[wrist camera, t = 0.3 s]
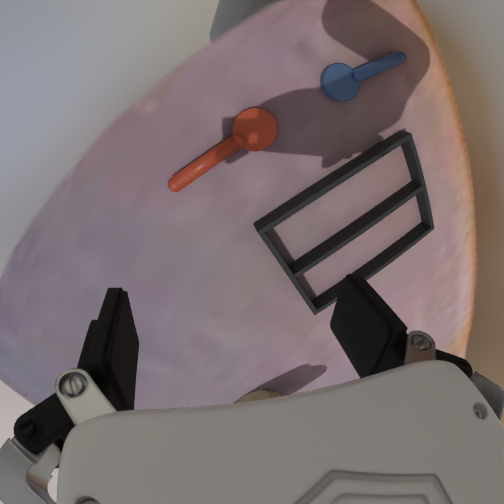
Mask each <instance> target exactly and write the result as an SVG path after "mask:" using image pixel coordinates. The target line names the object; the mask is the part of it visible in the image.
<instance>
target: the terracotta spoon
mask: <svg viewBox="0 0 504 504" xmlns="http://www.w3.org/2000/svg"><path fill="white" fill-rule="evenodd" d="M276 135H277V124H276V121H275V119H274V117H273V116H272V115H271V114H270V113H269V112H267V111H266V110H264V109H260V108H249V109H246V110H243V111H242V112H240V113H239V114H238V115H237V116H236V117H235V119H234V121H233V123H232V136H231V137H229V138H228V139H226V140H225V141H223V142H222V143H220V144H218V145H217V146H215V147H214V148H213V149H211V150H210V151H208V152H207V153H205V154H204V155H202V156H201V157H199V158H198V159H197V160H195V161H194V162H192V163H191V164H189V165H188V166H187V167H185V168H184V169H182V170H181V171H180V172H178V173H175V174H174V175H173V176H172V177H171V178H170V180H169V181H168V187H169V189H170V190H171V191H173V192H178V191H180V190H181V189H183V188H184V187H185V186H187V185H188V184H190V183H191V182H192V181H194V180H195V179H197V178H198V177H199V176H201V175H202V174H204V173H205V172H207V171H208V170H210V169H211V168H212V167H214V166H215V165H217V164H218V163H220V162H221V161H223V160H224V159H226V158H227V157H229V156H230V155H232V154H233V153H235V152H236V151H238V150H240V149H241V148H244V149H246V150H249V151H260V150H263V149H265V148H267V147H269V146H270V145H271V144H272V143H273V141H274V140H275V138H276Z"/></svg>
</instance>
